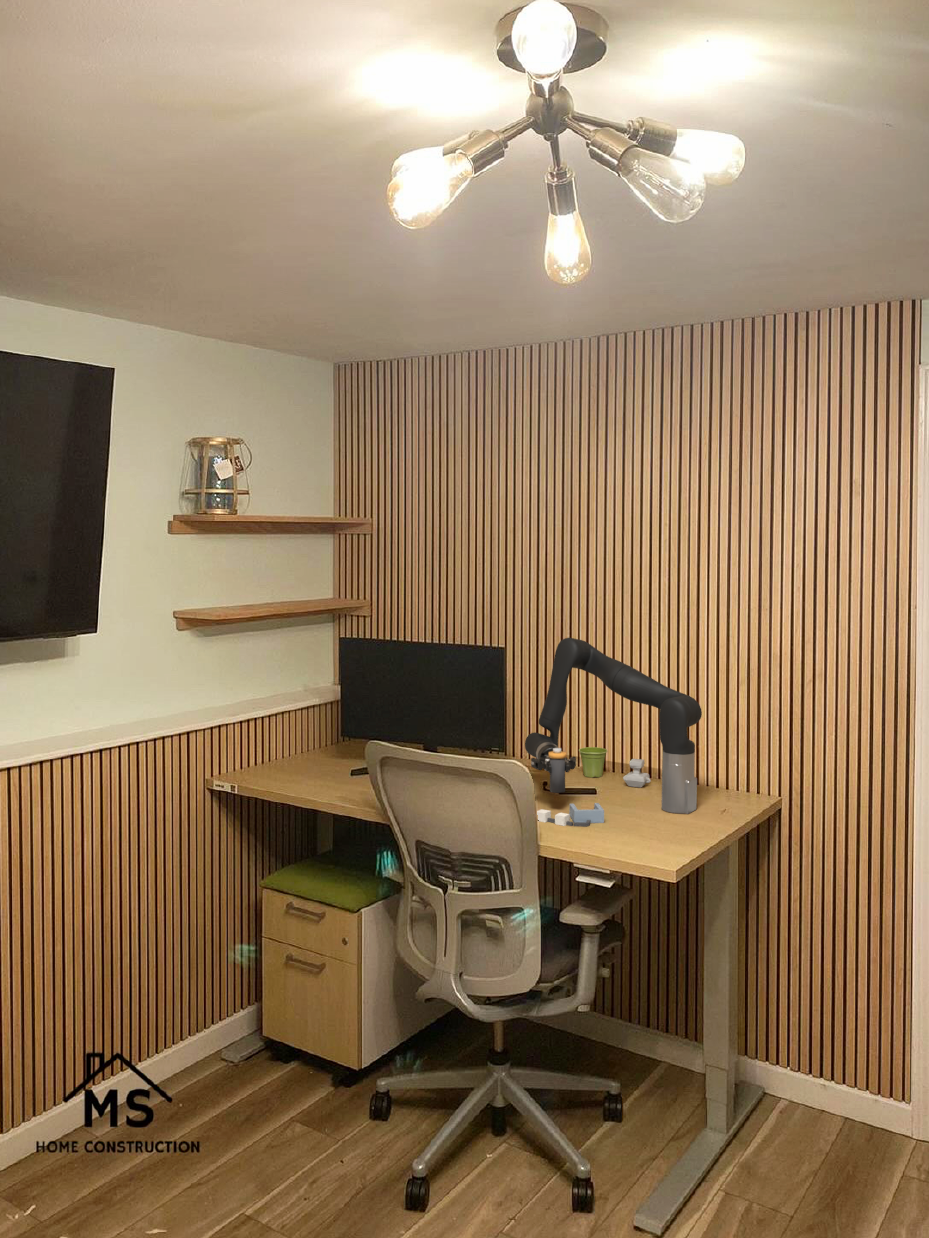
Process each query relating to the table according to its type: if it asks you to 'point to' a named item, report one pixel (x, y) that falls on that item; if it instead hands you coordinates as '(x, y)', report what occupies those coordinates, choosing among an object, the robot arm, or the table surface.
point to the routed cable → (559, 819)
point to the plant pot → (593, 761)
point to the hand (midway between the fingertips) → (559, 768)
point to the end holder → (587, 814)
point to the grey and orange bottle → (557, 770)
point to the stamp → (636, 774)
